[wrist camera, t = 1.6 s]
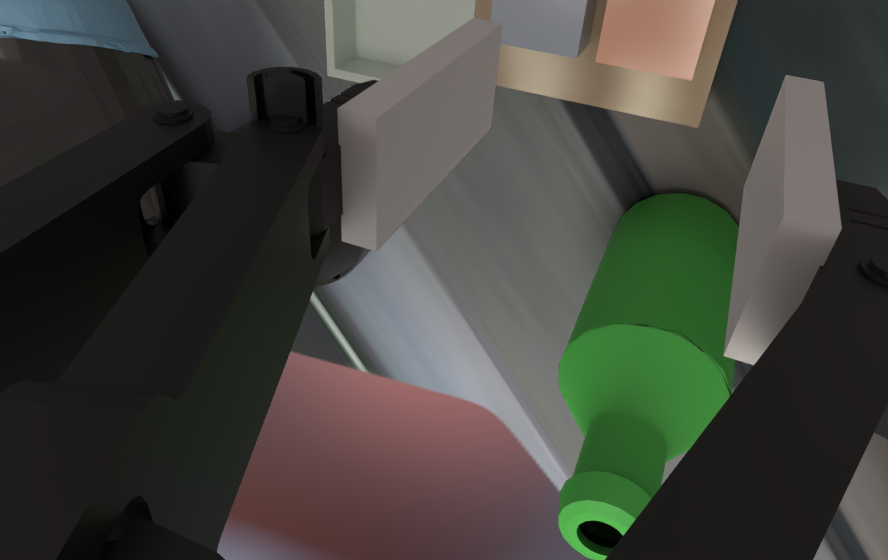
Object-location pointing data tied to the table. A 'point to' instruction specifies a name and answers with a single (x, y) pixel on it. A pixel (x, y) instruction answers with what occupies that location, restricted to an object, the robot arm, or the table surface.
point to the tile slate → (546, 24)
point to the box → (386, 33)
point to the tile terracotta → (655, 35)
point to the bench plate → (615, 74)
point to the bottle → (646, 361)
